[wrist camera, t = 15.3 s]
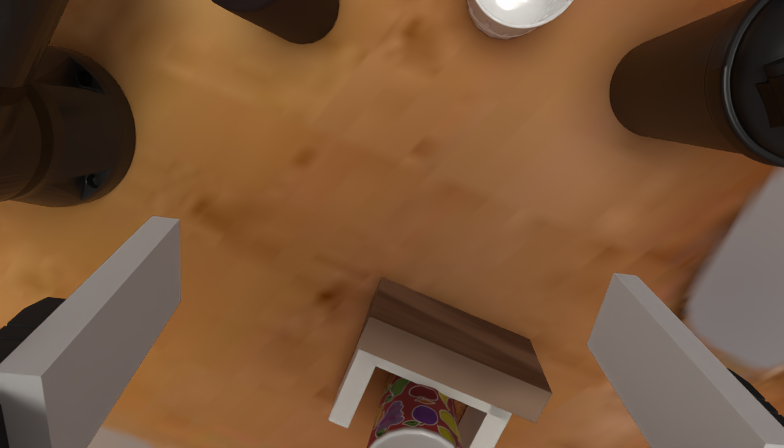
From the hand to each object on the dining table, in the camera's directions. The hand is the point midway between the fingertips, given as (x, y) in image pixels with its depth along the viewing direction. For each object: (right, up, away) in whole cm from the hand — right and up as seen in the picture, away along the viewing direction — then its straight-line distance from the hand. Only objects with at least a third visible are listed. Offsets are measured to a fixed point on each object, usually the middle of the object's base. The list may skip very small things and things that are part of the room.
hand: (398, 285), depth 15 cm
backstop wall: (+6, -8, +35) cm, 37 cm away
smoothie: (+3, -15, +37) cm, 40 cm away
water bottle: (+23, +14, +29) cm, 40 cm away
